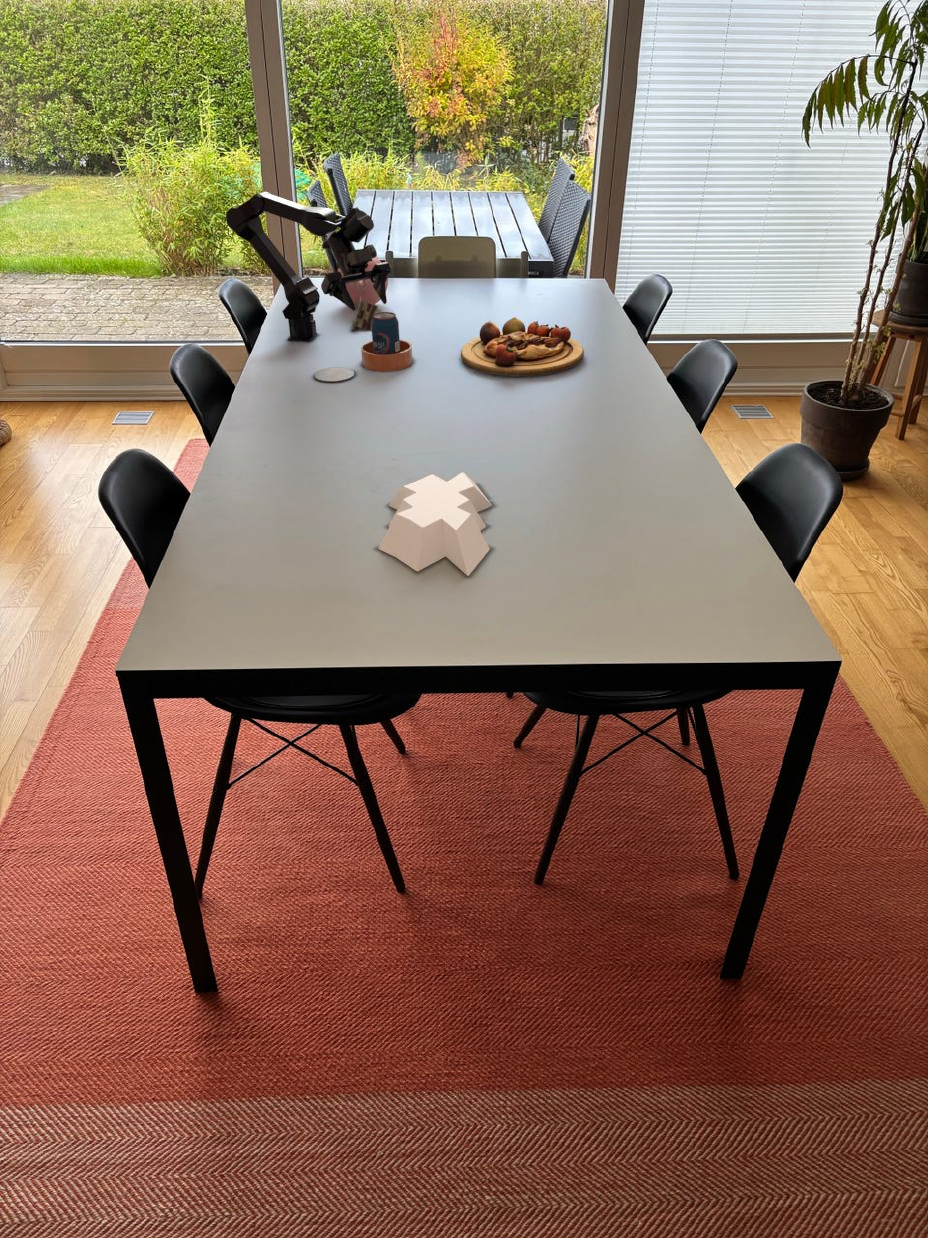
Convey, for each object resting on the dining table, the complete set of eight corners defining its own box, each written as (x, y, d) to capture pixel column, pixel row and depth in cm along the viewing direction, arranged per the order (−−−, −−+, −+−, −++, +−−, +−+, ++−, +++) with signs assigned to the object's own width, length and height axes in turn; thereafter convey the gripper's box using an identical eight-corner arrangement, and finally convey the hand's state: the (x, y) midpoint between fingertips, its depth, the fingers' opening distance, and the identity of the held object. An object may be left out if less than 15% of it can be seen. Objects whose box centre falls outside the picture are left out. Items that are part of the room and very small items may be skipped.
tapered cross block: (393, 484, 195) (392, 458, 192) (493, 484, 194) (493, 458, 191) (371, 575, 166) (368, 547, 163) (488, 576, 165) (488, 547, 162)
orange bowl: (355, 369, 251) (354, 353, 249) (372, 352, 262) (371, 337, 259) (403, 372, 248) (402, 356, 246) (418, 356, 259) (417, 340, 256)
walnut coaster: (308, 381, 245) (308, 379, 244) (323, 367, 253) (323, 366, 252) (345, 384, 242) (345, 382, 242) (360, 370, 250) (359, 368, 250)
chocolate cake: (376, 333, 276) (385, 295, 279) (351, 326, 275) (361, 288, 278) (373, 348, 286) (382, 310, 288) (349, 341, 285) (359, 304, 287)
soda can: (368, 363, 254) (365, 317, 247) (383, 355, 259) (379, 309, 252) (391, 367, 251) (388, 320, 244) (405, 359, 256) (403, 312, 249)
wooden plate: (538, 388, 237) (539, 354, 233) (435, 363, 254) (434, 331, 249) (606, 351, 258) (608, 320, 254) (507, 331, 275) (507, 301, 270)
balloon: (334, 318, 288) (329, 264, 279) (341, 299, 305) (337, 247, 296) (386, 317, 288) (383, 263, 279) (391, 298, 304) (388, 246, 296)
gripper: (321, 240, 243) (347, 295, 241) (386, 228, 251) (411, 281, 250) (310, 266, 253) (335, 319, 251) (372, 255, 261) (397, 306, 260)
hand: (370, 306), depth 253 cm, fingers open, 9 cm apart
